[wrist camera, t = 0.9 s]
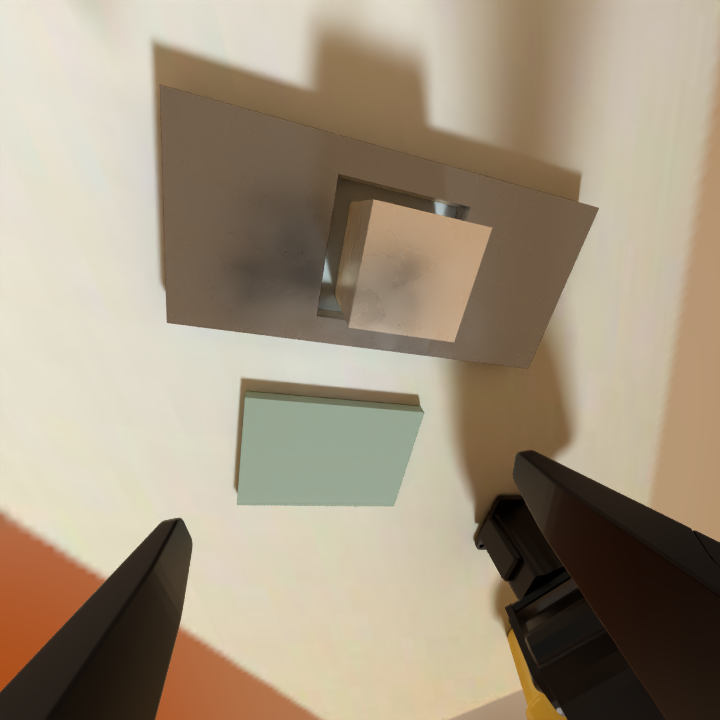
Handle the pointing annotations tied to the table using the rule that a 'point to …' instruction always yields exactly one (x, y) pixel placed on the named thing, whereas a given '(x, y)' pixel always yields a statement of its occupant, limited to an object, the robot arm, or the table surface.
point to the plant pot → (531, 687)
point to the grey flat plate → (312, 226)
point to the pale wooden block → (407, 270)
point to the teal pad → (324, 450)
